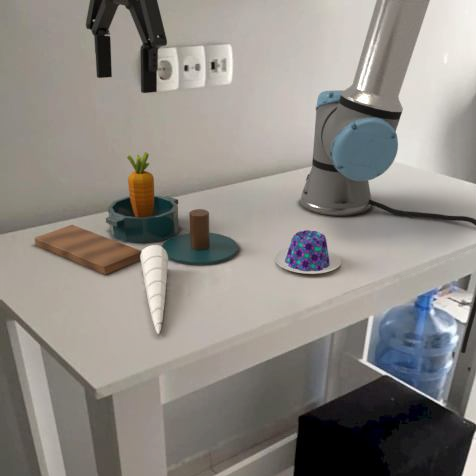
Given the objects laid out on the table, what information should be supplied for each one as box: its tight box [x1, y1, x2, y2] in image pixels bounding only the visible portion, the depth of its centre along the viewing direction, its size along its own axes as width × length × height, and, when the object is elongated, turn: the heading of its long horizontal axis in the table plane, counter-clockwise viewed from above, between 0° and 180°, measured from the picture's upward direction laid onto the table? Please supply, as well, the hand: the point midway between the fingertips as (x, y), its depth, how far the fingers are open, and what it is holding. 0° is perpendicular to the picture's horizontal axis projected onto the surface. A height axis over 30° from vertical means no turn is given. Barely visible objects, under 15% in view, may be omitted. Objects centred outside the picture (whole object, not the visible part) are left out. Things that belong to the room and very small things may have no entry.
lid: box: [162, 208, 239, 266], centre depth 117 cm, size 14×14×7 cm
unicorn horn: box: [140, 244, 169, 335], centre depth 101 cm, size 5×24×5 cm, turn 4°
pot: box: [105, 195, 180, 244], centre depth 126 cm, size 13×17×5 cm
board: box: [33, 224, 142, 276], centre depth 117 cm, size 20×9×2 cm, turn 51°
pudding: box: [274, 229, 342, 275], centre depth 113 cm, size 12×12×5 cm
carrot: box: [126, 151, 155, 217], centre depth 123 cm, size 5×5×15 cm
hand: (125, 84), depth 111 cm, fingers open, 13 cm apart
